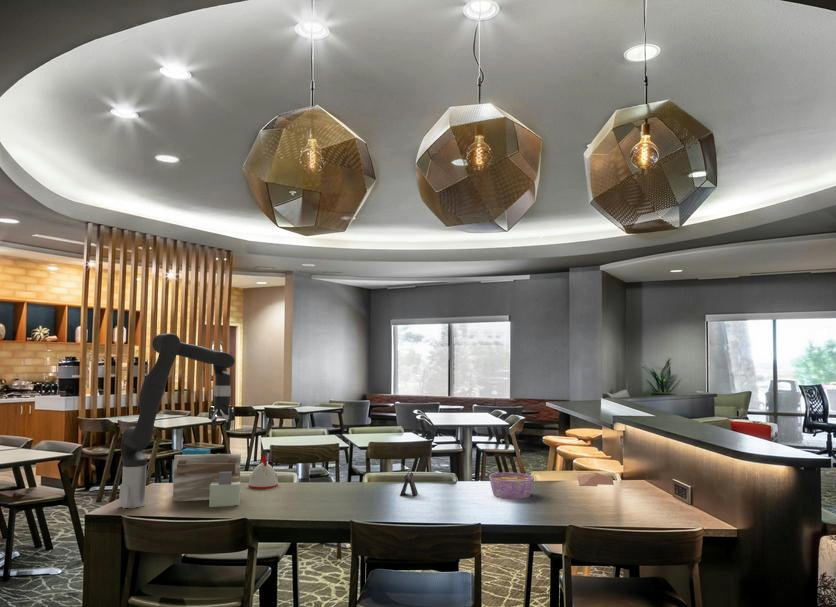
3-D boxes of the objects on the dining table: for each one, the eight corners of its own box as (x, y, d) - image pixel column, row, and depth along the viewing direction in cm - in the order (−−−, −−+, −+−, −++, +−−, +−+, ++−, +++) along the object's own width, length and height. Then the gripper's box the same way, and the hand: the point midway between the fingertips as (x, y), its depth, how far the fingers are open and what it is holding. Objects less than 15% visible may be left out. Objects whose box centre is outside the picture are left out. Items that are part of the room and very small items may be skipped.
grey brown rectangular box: (238, 502, 279) (239, 456, 281) (170, 504, 274) (172, 457, 276) (240, 496, 292) (241, 451, 293) (175, 498, 287) (177, 452, 288)
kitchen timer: (252, 491, 302) (253, 459, 303) (245, 485, 314) (246, 454, 315) (281, 488, 308) (282, 457, 309) (273, 483, 320) (274, 453, 322)
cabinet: (238, 508, 270) (239, 472, 271) (209, 509, 267) (210, 473, 268) (240, 502, 280) (241, 467, 281) (212, 503, 278) (213, 468, 279)
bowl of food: (480, 500, 289) (480, 474, 290) (516, 496, 298) (516, 471, 299) (506, 510, 271) (506, 482, 272) (543, 505, 280) (543, 478, 281)
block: (209, 492, 298) (211, 449, 300) (205, 495, 293) (206, 450, 295) (185, 491, 299) (186, 448, 301) (180, 494, 294) (181, 450, 296)
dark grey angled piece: (397, 501, 285) (398, 474, 286) (400, 498, 291) (400, 471, 292) (417, 502, 283) (418, 475, 284) (419, 499, 289) (420, 472, 290)
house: (618, 485, 327) (618, 469, 328) (624, 499, 295) (623, 481, 295) (572, 482, 332) (572, 466, 333) (572, 496, 300) (572, 479, 301)
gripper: (205, 394, 307) (203, 428, 306) (228, 396, 301) (226, 431, 299) (216, 394, 314) (215, 427, 312) (239, 395, 307) (237, 429, 306)
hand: (220, 429), depth 306 cm, fingers open, 8 cm apart
